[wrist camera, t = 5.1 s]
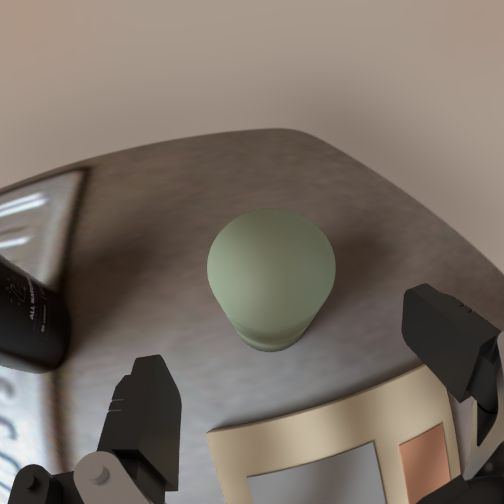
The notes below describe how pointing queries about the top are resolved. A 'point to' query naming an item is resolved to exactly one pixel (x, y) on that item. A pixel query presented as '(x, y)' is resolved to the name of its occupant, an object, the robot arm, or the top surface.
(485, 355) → the robot arm
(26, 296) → the supplement bottle
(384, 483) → the board
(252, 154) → the top surface
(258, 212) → the green cylinder
